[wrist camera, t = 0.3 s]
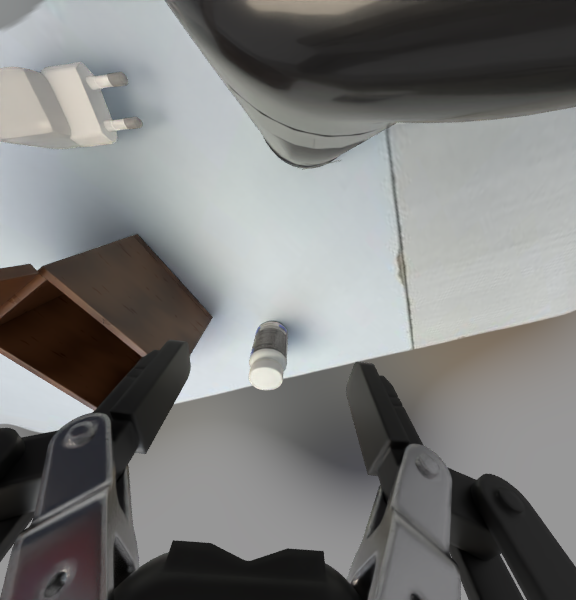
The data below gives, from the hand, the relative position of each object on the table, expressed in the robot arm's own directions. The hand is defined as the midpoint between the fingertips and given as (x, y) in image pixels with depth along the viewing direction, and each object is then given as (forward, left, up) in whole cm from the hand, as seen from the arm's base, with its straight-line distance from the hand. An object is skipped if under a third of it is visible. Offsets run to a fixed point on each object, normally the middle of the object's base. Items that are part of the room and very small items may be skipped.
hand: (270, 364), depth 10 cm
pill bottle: (+12, 0, -18) cm, 22 cm away
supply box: (+10, -18, -18) cm, 27 cm away
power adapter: (-10, -19, -18) cm, 28 cm away
